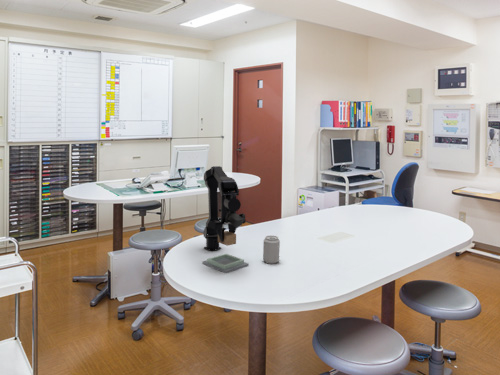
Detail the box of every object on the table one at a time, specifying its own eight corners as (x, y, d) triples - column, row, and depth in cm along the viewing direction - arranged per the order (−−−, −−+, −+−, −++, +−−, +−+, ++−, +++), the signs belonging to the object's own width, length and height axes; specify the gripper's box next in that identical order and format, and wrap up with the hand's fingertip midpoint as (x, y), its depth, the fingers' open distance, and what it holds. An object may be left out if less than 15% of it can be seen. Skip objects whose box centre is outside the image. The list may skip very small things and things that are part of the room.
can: (265, 264, 190) (266, 239, 189) (261, 259, 198) (261, 235, 196) (281, 263, 192) (282, 238, 191) (275, 258, 200) (276, 234, 198)
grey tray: (202, 263, 190) (202, 258, 189) (225, 257, 200) (225, 252, 199) (225, 273, 179) (225, 267, 178) (248, 265, 189) (248, 260, 188)
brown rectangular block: (217, 242, 189) (217, 232, 188) (226, 240, 192) (226, 230, 192) (227, 245, 184) (227, 235, 183) (236, 243, 187) (236, 234, 186)
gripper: (224, 212, 173) (223, 248, 176) (254, 207, 187) (253, 240, 189) (206, 208, 181) (206, 243, 183) (237, 203, 194) (236, 235, 197)
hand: (226, 240), depth 188 cm, fingers closed on brown rectangular block, 5 cm apart
